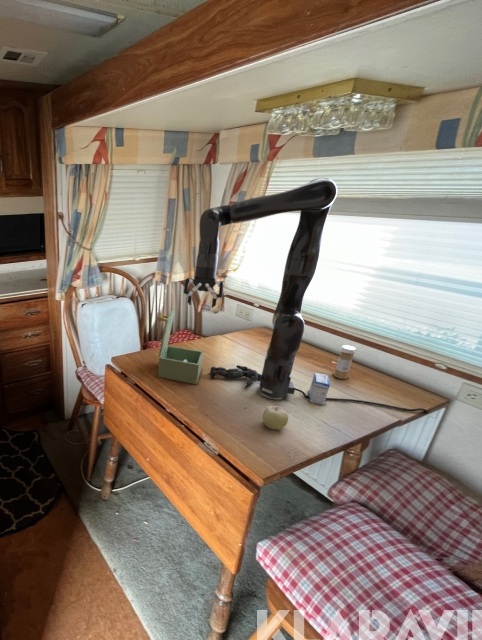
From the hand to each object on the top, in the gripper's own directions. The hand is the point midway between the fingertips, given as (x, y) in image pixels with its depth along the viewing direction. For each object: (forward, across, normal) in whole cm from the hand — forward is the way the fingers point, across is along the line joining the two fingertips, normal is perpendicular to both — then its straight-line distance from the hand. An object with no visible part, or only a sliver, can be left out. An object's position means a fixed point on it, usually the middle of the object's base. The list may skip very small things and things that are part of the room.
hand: (201, 305), depth 140 cm
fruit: (+30, +30, -26) cm, 50 cm away
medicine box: (+30, +45, -1) cm, 54 cm away
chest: (+30, -5, -2) cm, 31 cm away
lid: (+13, -12, -2) cm, 17 cm away
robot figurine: (+30, +17, +3) cm, 35 cm away
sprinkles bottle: (+30, +56, +22) cm, 67 cm away
